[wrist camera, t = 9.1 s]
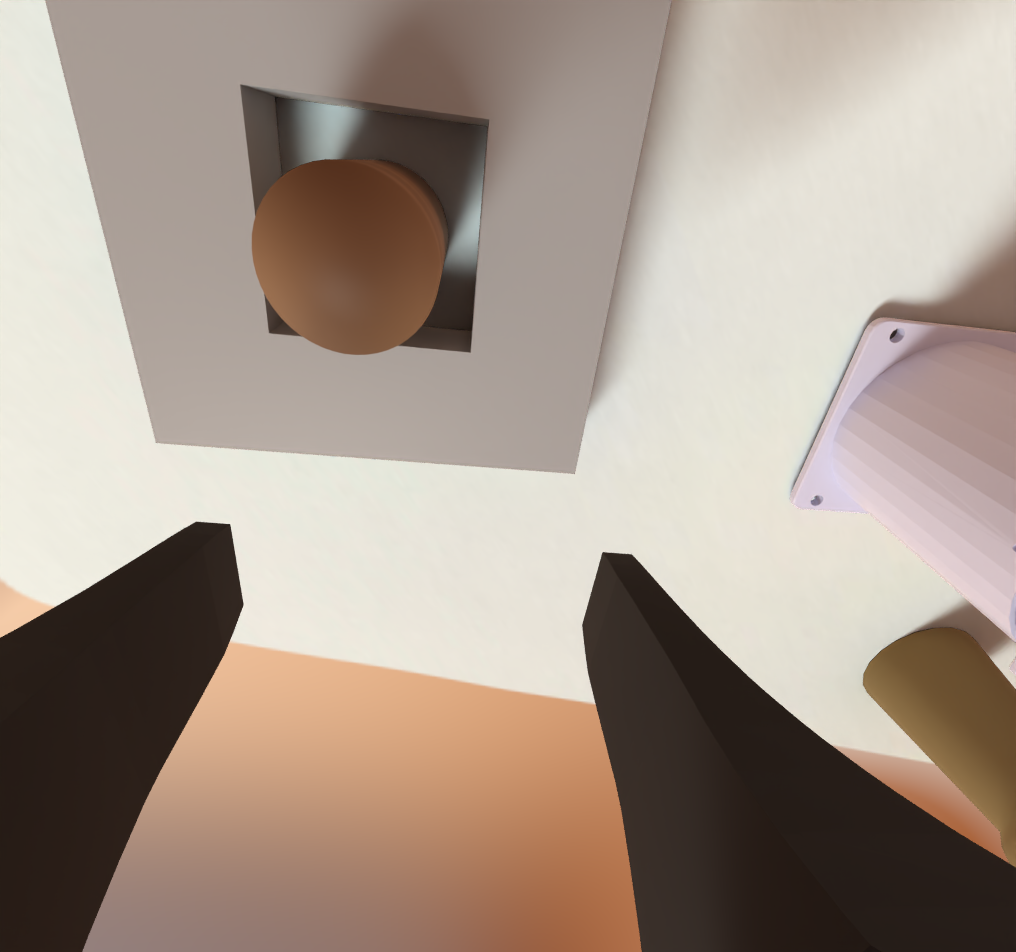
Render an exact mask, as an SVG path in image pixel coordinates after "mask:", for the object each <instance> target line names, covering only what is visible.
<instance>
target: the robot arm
mask: <svg viewBox="0 0 1016 952" xmlns="http://www.w3.org/2000/svg"><path fill="white" fill-rule="evenodd" d="M896 329H897V333H896V335H895V336H894V337H893V338H891V339H890V335H891V333H892V332H893V331H894V330H896ZM815 496H817V497H816V499H814V500H812V498H813V497H815ZM790 502H791V503H792V504H793V505H794V506H795V507H796V508H799V509H808V510H822V511H836V512H851V513H865V514H870V515H871V516H872V517H873V518H874V519H875V520H877V521H878V522H879V523H880V524H881V525H882V526H883V527H885V528H886V529H887V530H888V531H889V532H890V533H891V534H893V535H894V536H895V537H896V538H897V539H898V540H899V541H901V542H902V543H903V544H904V545H905V546H906V547H907V548H909V549H910V550H911V551H912V552H913V553H914V554H915V555H917V556H918V557H919V558H920V559H921V560H922V561H923V562H924V563H926V564H927V565H928V566H929V567H930V568H931V569H932V570H934V571H935V572H936V573H937V574H938V575H939V576H940V577H942V578H943V579H944V580H945V581H946V582H947V583H948V584H950V585H951V586H952V587H953V588H954V589H955V590H956V591H958V592H959V593H960V594H961V595H962V596H963V597H964V598H965V599H967V600H968V601H969V602H970V603H971V604H972V605H973V606H975V607H976V608H977V609H978V610H979V611H980V612H981V613H983V614H984V615H985V616H986V617H987V618H988V619H989V620H991V621H992V622H993V623H994V624H995V625H996V626H997V627H999V628H1000V629H1001V630H1002V631H1003V632H1004V633H1005V634H1007V635H1008V636H1009V637H1010V638H1011V639H1012V640H1013V641H1014V642H1016V332H1011V331H1002V330H993V329H984V328H975V327H966V326H957V325H948V324H939V323H930V322H921V321H912V320H903V319H894V318H885V317H884V318H878V319H876V320H874V321H872V322H871V323H870V324H869V325H868V326H867V328H866V329H865V331H864V334H863V336H862V338H861V340H860V342H859V345H858V347H857V349H856V351H855V353H854V356H853V358H852V360H851V362H850V364H849V367H848V369H847V371H846V373H845V375H844V378H843V380H842V382H841V384H840V386H839V389H838V391H837V393H836V395H835V397H834V400H833V402H832V404H831V406H830V408H829V411H828V413H827V415H826V417H825V419H824V422H823V424H822V426H821V428H820V430H819V433H818V435H817V437H816V439H815V441H814V444H813V446H812V448H811V450H810V452H809V455H808V457H807V459H806V461H805V464H804V466H803V468H802V470H801V472H800V475H799V477H798V479H797V481H796V483H795V486H794V488H793V490H792V492H791V494H790ZM242 608H243V599H242V593H241V587H240V581H239V574H238V568H237V562H236V556H235V550H234V544H233V538H232V532H231V526H230V524H220V523H206V522H195V523H193V524H191V525H190V526H188V527H186V528H184V529H183V530H181V531H179V532H178V533H176V534H174V535H173V536H171V537H169V538H168V539H166V540H165V541H163V542H161V543H160V544H158V545H157V546H155V547H153V548H152V549H150V550H149V551H147V552H145V553H144V554H142V555H141V556H139V557H138V558H136V559H134V560H133V561H131V562H130V563H128V564H126V565H125V566H123V567H121V568H120V569H118V570H117V571H115V572H113V573H112V574H110V575H108V576H107V577H105V578H104V579H102V580H100V581H99V582H97V583H95V584H94V585H92V586H91V587H89V588H87V589H86V590H84V591H82V592H81V593H79V594H77V595H75V596H74V597H72V598H70V599H68V600H67V601H65V602H63V603H61V604H60V605H58V606H56V607H54V608H53V609H51V610H49V611H47V612H46V613H44V614H42V615H40V616H39V617H37V618H35V619H33V620H31V621H30V622H28V623H26V624H24V625H23V626H21V627H19V628H18V629H16V630H14V631H12V632H10V633H8V634H7V635H5V636H3V637H1V638H0V952H82V951H83V948H84V946H85V943H86V940H87V938H88V935H89V933H90V930H91V928H92V925H93V923H94V921H95V918H96V916H97V913H98V911H99V908H100V906H101V903H102V901H103V899H104V896H105V894H106V892H107V889H108V886H109V884H110V882H111V879H112V877H113V874H114V872H115V870H116V867H117V865H118V862H119V860H120V858H121V855H122V853H123V851H124V849H125V846H126V844H127V842H128V840H129V837H130V835H131V832H132V830H133V828H134V826H135V823H136V821H137V819H138V816H139V814H140V812H141V810H142V807H143V805H144V803H145V800H146V799H147V797H148V795H149V792H150V791H151V789H152V786H153V785H154V783H155V781H156V779H157V777H158V775H159V773H160V771H161V769H162V767H163V765H164V763H165V762H166V760H167V758H168V756H169V754H170V753H171V751H172V749H173V747H174V745H175V743H176V741H177V740H178V738H179V736H180V735H181V733H182V731H183V729H184V727H185V725H186V724H187V722H188V720H189V718H190V716H191V715H192V713H193V711H194V709H195V707H196V706H197V704H198V702H199V700H200V698H201V697H202V695H203V693H204V691H205V689H206V687H207V685H208V684H209V682H210V680H211V678H212V676H213V675H214V673H215V670H216V669H217V667H218V665H219V663H220V661H221V660H222V658H223V656H224V654H225V651H226V649H227V647H228V644H229V642H230V639H231V637H232V634H233V632H234V629H235V626H236V624H237V621H238V618H239V616H240V613H241V610H242ZM582 627H583V636H584V645H585V654H586V661H587V669H588V674H589V679H590V683H591V687H592V691H593V695H594V699H595V703H596V707H597V711H598V715H599V719H600V723H601V727H602V731H603V735H604V738H605V742H606V746H607V750H608V755H609V759H610V762H611V766H612V770H613V774H614V778H615V782H616V787H617V791H618V796H619V801H620V806H621V810H622V817H623V823H624V830H625V835H626V843H627V849H628V855H629V862H630V867H631V875H632V882H633V890H634V896H635V904H636V910H637V918H638V925H639V933H640V941H641V949H642V952H1016V867H1014V866H1013V865H1011V864H1009V863H1007V862H1006V861H1004V860H1003V859H1001V858H999V857H997V856H996V855H994V854H993V853H991V852H989V851H988V850H986V849H984V848H983V847H981V846H979V845H977V844H976V843H974V842H972V841H971V840H969V839H968V838H966V837H964V836H962V835H961V834H959V833H958V832H956V831H955V830H953V829H951V828H950V827H948V826H947V825H945V824H944V823H942V822H941V821H939V820H938V819H936V818H935V817H933V816H932V815H930V814H929V813H927V812H925V811H924V810H922V809H921V808H919V807H918V806H916V805H915V804H913V803H912V802H910V801H909V800H907V799H906V798H904V797H903V796H901V795H900V794H898V793H897V792H895V791H894V790H892V789H891V788H890V787H888V786H887V785H885V784H884V783H882V782H881V781H880V780H878V779H877V778H875V777H874V776H872V775H871V774H870V773H868V772H867V771H865V770H864V769H863V768H861V767H860V766H858V765H857V764H856V763H854V762H853V761H852V760H850V759H849V758H848V757H846V756H845V755H843V754H842V753H841V752H840V751H838V750H837V749H836V748H834V747H833V746H832V745H830V744H829V743H828V742H826V741H825V740H824V739H822V738H821V737H820V736H818V735H817V734H816V733H815V732H813V731H812V730H811V729H810V728H808V727H807V726H806V725H804V724H803V723H802V722H801V721H799V720H798V719H797V718H796V717H795V716H794V715H792V714H791V713H790V712H789V711H788V710H786V709H785V708H784V707H783V706H782V705H780V704H779V703H778V702H777V701H776V700H775V699H773V698H772V697H771V696H770V695H769V694H767V693H766V692H765V691H764V690H763V689H762V688H761V687H759V686H758V685H757V684H756V683H755V682H754V681H753V680H752V679H751V678H749V677H748V676H747V675H746V674H745V673H744V672H743V671H742V670H741V669H740V668H739V667H738V666H737V665H736V664H735V663H734V662H733V661H732V660H731V659H729V658H728V657H727V656H726V655H725V654H724V653H723V652H722V651H721V650H720V649H719V648H718V647H717V646H716V645H715V644H714V643H713V642H712V641H711V640H710V639H709V638H708V637H707V636H706V635H705V634H704V633H703V632H702V631H701V630H700V629H699V627H698V626H697V625H696V624H695V623H694V622H693V621H692V620H691V619H690V618H689V617H688V616H687V615H686V614H685V613H684V612H683V610H682V609H681V608H680V607H679V606H678V605H677V604H676V603H675V602H674V601H673V599H672V598H671V597H670V596H669V595H668V594H667V593H666V592H665V591H664V589H663V588H662V587H661V586H660V585H659V584H658V583H657V582H656V580H655V579H654V578H653V577H652V576H651V575H650V574H649V573H648V571H647V570H646V569H645V568H644V567H643V566H642V565H641V564H640V563H639V562H638V560H637V559H636V558H635V557H634V556H633V555H632V554H619V553H606V552H603V553H602V556H601V560H600V563H599V567H598V571H597V574H596V578H595V581H594V585H593V588H592V592H591V596H590V599H589V603H588V606H587V610H586V613H585V617H584V621H583V624H582ZM1009 669H1010V670H1011V671H1012V672H1013V673H1014V674H1015V675H1016V658H1015V659H1014V661H1013V662H1012V663H1011V665H1010V666H1009Z"/></svg>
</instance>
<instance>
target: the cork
mask: <svg viewBox="0 0 1016 952" xmlns="http://www.w3.org/2000/svg"><path fill="white" fill-rule="evenodd" d="M863 686H864V687H865V689H866V691H867V693H868V694H869V695H870V696H871V697H872V698H873V699H874V700H875V701H876V702H877V704H878V705H879V706H880V707H881V708H882V709H883V710H884V711H885V712H886V713H887V714H888V715H889V716H890V717H891V718H892V719H893V720H894V721H895V722H896V723H897V724H898V726H899V727H900V728H901V729H902V730H903V731H904V732H905V733H906V734H907V735H908V736H909V737H910V738H911V739H912V740H913V741H914V742H915V743H916V744H917V745H918V746H919V748H920V749H921V750H922V751H923V752H924V753H925V754H926V755H927V756H928V757H929V758H930V759H931V760H932V761H933V762H934V763H935V764H936V765H937V766H938V767H939V768H940V769H941V771H942V772H943V773H944V774H945V775H946V776H947V777H948V778H949V779H950V780H951V781H952V782H953V783H954V784H955V785H956V786H957V787H958V788H959V789H960V790H961V791H962V792H963V794H964V795H965V796H966V797H967V798H968V799H969V800H970V801H971V802H972V803H973V804H974V805H975V806H976V807H977V808H978V809H979V810H980V811H981V812H982V813H983V814H984V816H985V817H986V818H987V819H988V820H989V821H990V822H991V823H992V824H993V825H994V826H995V827H996V828H997V829H998V830H999V831H1000V836H1001V845H1002V848H1003V851H1004V853H1005V855H1006V857H1007V859H1008V861H1009V863H1010V864H1011V865H1013V866H1014V867H1016V689H1015V688H1014V687H1013V686H1012V684H1011V683H1010V682H1009V681H1008V680H1007V678H1006V677H1005V676H1004V675H1003V673H1002V672H1001V671H1000V670H999V669H998V667H997V666H996V665H995V664H994V662H993V661H992V660H991V659H990V658H989V656H988V655H987V654H986V653H985V651H984V650H983V649H982V648H981V647H980V645H979V644H978V643H977V642H976V641H975V639H974V638H973V637H971V636H970V635H969V634H968V633H966V632H965V631H962V630H958V629H954V628H932V629H928V630H924V631H920V632H915V633H913V634H911V635H908V636H906V637H904V638H901V639H899V640H897V641H895V642H894V643H892V644H891V645H889V646H888V647H886V648H885V649H883V650H882V651H881V652H880V653H879V654H878V655H877V656H876V657H875V658H874V659H873V660H872V661H871V662H870V663H869V665H868V667H867V669H866V671H865V672H864V677H863Z"/></svg>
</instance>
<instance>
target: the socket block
mask: <svg viewBox="0 0 1016 952" xmlns="http://www.w3.org/2000/svg"><path fill="white" fill-rule="evenodd" d="M45 1H46V5H47V9H48V13H49V17H50V21H51V25H52V29H53V33H54V37H55V41H56V45H57V49H58V53H59V57H60V61H61V65H62V69H63V73H64V77H65V81H66V85H67V89H68V93H69V97H70V101H71V105H72V109H73V113H74V117H75V121H76V125H77V129H78V133H79V137H80V141H81V145H82V149H83V153H84V157H85V161H86V165H87V169H88V173H89V177H90V181H91V185H92V189H93V193H94V197H95V201H96V205H97V209H98V213H99V217H100V221H101V225H102V229H103V233H104V237H105V241H106V245H107V249H108V253H109V257H110V261H111V265H112V269H113V273H114V277H115V281H116V285H117V289H118V293H119V297H120V301H121V305H122V309H123V313H124V317H125V321H126V325H127V329H128V333H129V337H130V341H131V345H132V349H133V353H134V357H135V361H136V365H137V369H138V373H139V377H140V381H141V385H142V389H143V393H144V397H145V400H146V404H147V408H148V412H149V416H150V420H151V424H152V428H153V432H154V436H155V440H156V443H164V444H177V445H191V446H204V447H218V448H232V449H245V450H259V451H272V452H286V453H299V454H313V455H327V456H340V457H354V458H367V459H381V460H395V461H408V462H422V463H435V464H449V465H463V466H476V467H490V468H503V469H517V470H531V471H544V472H558V473H571V474H575V471H576V466H577V461H578V456H579V451H580V446H581V441H582V437H583V432H584V427H585V422H586V417H587V412H588V407H589V402H590V397H591V393H592V388H593V383H594V378H595V373H596V368H597V363H598V358H599V354H600V349H601V344H602V339H603V334H604V329H605V324H606V319H607V314H608V310H609V305H610V300H611V295H612V290H613V285H614V280H615V275H616V270H617V266H618V261H619V256H620V251H621V246H622V241H623V236H624V231H625V227H626V222H627V217H628V212H629V207H630V202H631V197H632V192H633V187H634V183H635V178H636V173H637V168H638V163H639V158H640V153H641V148H642V144H643V139H644V134H645V129H646V124H647V119H648V114H649V109H650V104H651V100H652V95H653V90H654V85H655V80H656V75H657V70H658V65H659V60H660V56H661V51H662V46H663V41H664V36H665V31H666V26H667V21H668V17H669V12H670V7H671V2H672V0H45ZM275 97H280V98H288V99H295V100H302V101H309V102H316V103H323V104H331V105H338V106H345V107H352V108H359V109H366V110H373V111H381V112H388V113H395V114H402V115H409V116H416V117H424V118H431V119H438V120H445V121H452V122H459V123H467V124H474V125H481V126H488V127H487V139H486V152H485V165H484V178H483V191H482V204H481V216H480V229H479V242H478V255H477V268H476V280H475V293H474V306H473V319H472V331H465V330H455V329H445V328H435V327H425V326H421V327H420V328H419V329H418V331H417V332H416V333H415V334H414V335H412V336H411V337H410V338H409V339H408V340H406V341H405V342H403V343H401V344H400V345H398V346H396V347H394V348H392V349H389V350H387V351H383V352H380V353H375V354H369V355H350V354H343V353H338V352H334V351H331V350H328V349H325V348H322V347H320V346H318V345H316V344H314V343H312V342H310V341H309V340H307V339H305V338H304V337H302V336H301V335H299V334H298V333H297V332H296V331H294V330H293V329H292V328H291V327H290V326H289V325H288V324H287V323H286V322H285V321H284V320H283V319H282V318H281V317H280V316H279V315H278V313H277V312H276V311H275V310H274V309H273V307H272V305H271V304H270V302H269V301H268V299H267V298H266V296H265V294H264V292H263V290H262V288H261V286H260V283H259V280H258V277H257V275H256V271H255V267H254V263H253V256H252V230H253V224H254V220H255V216H256V213H257V210H258V208H259V206H260V203H261V201H262V199H263V198H264V196H265V195H266V193H267V192H268V190H269V189H270V187H271V186H272V185H273V184H274V183H275V182H276V181H277V180H278V179H279V178H281V177H282V171H281V160H280V149H279V138H278V127H277V116H276V105H275Z"/></svg>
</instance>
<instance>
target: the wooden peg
mask: <svg viewBox="0 0 1016 952" xmlns="http://www.w3.org/2000/svg"><path fill="white" fill-rule="evenodd" d="M447 247H448V227H447V221H446V217H445V213H444V210H443V208H442V206H441V203H440V201H439V199H438V198H437V196H436V194H435V193H434V191H433V190H432V189H431V187H430V186H429V185H428V184H427V183H426V182H425V181H424V179H423V178H421V177H420V176H419V175H418V174H416V173H415V172H414V171H412V170H410V169H409V168H407V167H405V166H403V165H401V164H398V163H395V162H392V161H387V160H330V159H325V160H319V161H312V162H309V163H306V164H303V165H300V166H298V167H296V168H294V169H292V170H290V171H289V172H287V173H286V174H285V175H283V176H282V177H281V178H279V179H278V180H277V181H276V182H275V183H274V184H273V185H272V186H271V187H270V189H269V190H268V192H267V193H266V195H265V196H264V198H263V199H262V201H261V203H260V206H259V208H258V210H257V213H256V216H255V220H254V224H253V230H252V256H253V263H254V267H255V271H256V275H257V277H258V280H259V283H260V286H261V288H262V290H263V292H264V294H265V296H266V298H267V299H268V301H269V302H270V304H271V305H272V307H273V309H274V310H275V311H276V312H277V313H278V315H279V316H280V317H281V318H282V319H283V320H284V321H285V322H286V323H287V324H288V325H289V326H290V327H291V328H292V329H293V330H294V331H296V332H297V333H298V334H299V335H301V336H302V337H304V338H305V339H307V340H309V341H310V342H312V343H314V344H316V345H318V346H320V347H322V348H325V349H328V350H331V351H334V352H338V353H343V354H350V355H369V354H375V353H380V352H383V351H387V350H389V349H392V348H394V347H396V346H398V345H400V344H401V343H403V342H405V341H406V340H408V339H409V338H410V337H411V336H412V335H414V334H415V333H416V332H417V331H418V329H419V328H420V327H421V326H422V325H423V323H424V322H425V320H426V319H427V317H428V316H429V314H430V312H431V310H432V308H433V306H434V303H435V300H436V297H437V293H438V288H439V284H440V279H441V275H442V270H443V266H444V261H445V257H446V252H447Z"/></svg>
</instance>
